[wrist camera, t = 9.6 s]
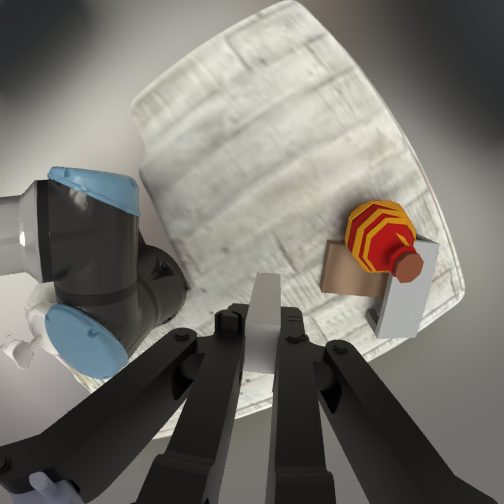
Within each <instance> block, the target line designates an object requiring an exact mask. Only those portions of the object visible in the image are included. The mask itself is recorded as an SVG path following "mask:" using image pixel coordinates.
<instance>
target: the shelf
mask: <svg viewBox="0 0 504 504" xmlns="http://www.w3.org/2000/svg"><path fill="white" fill-rule="evenodd" d="M414 248H415V250H416V251H417V253H418V254H420V256H421V258H422V259H423V261H424V264H423V267H422V271H421V274H420V275H419V276H418V277H416V278H415V279H414V280H413V281H412V282H410V283H400V282H399V281H398V279H397V278H396V277H394V276H393V275H392V273H391V272H389V277H388V282H387V286H386V291H385V295H384V300H383V304H382V308H381V312H380V316H378V315H377V313H376V312H375V310H367V312H366V316H365V318H366V319H367V321H368V323H369V325H370V326H371V328H372V330H373V332H374V333H375V335H376V337H377V339H381V338H411V337H416V334H417V331H418V328H419V325H420V322H421V319H422V316H423V312H424V309H425V306H426V302H427V298H428V295H429V291H430V287H431V283H432V278H433V274H434V270H435V265H436V260H437V255H438V250H439V244H438V243H436V242H434V241H432V240H429V239H427V238H425V237H423V236H421V235H418V234H416V239H415V242H414Z"/></svg>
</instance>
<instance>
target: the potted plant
mask: <svg viewBox="0 0 504 504" xmlns="http://www.w3.org/2000/svg"><path fill="white" fill-rule="evenodd" d="M53 304H56V303H49V302H47V301H44V302H42V303H40V304H38V305H36V306H35V307H33V308H32V309H30V310H29V313H28V317H27V319H28V323H29V328H30V330H31V332H32V334H33V336H34V339H33V340H32V341H31V343H30V344H29V343H27V342H24V341H21V340H15V339H14V340H13V341H12V342H11V343H10V344H9V346H8V347H6V348H5V349H3V350H2V351H3V352H4V353H6V354H7V356H9V357H10V358H11V359H13V360H14V361H15V363H16V365H17V367H18V368H20V369H22V370H26V369H28V368H29V366H30V363H31V360H32V359H33V355H34V353H33V351H32V349H34V348H35V347H36V346H37V344H39V345H40V346H41V347H42V348H43V349H44V350H45V351H47V352H49V353H50V354H52V355H55V354H59V353H58V352H57V351H56V349H55V348H54V346H53V345H52V343H51V341H50V339H49V337H48V335H47V332H46V328H45V315H46V314H47V311H48V310H49V308H50V306H52V305H53ZM0 347H3V345H2V346H0Z"/></svg>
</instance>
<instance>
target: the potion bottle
mask: <svg viewBox="0 0 504 504" xmlns="http://www.w3.org/2000/svg"><path fill="white" fill-rule="evenodd" d="M415 239H416V230H415V228H414V226H413V224H412V222H411V221H410V219H409V217H408V216H407V214H406V213H405V211H404V210H403V208H402V207H401V206H400V204H398V203H395V202H393V201H368V202H367V203H365V204H364V205H359V206H358V207H357V208H356V209H355V210H353V211H352V212H351V213H350V216H349V218H348V224H347V229H346V234H345V239H344V240H345V244H346V246H347V248H348V249H349V250H350V251H351V253H352V256H353V257H354V258H355V259H356V261H357V262H358V264H359V265H360V266H361V267H362V268H363V269H364V271H365V272H369V273H372V272H391V273H392V275H393V276H394V277H396V278H397V279H398V281H399V282H400V283H410V282H412V281H413V280H414V279H415V278H416V277H418V276H419V275H420V274H421V271H422V267H423V264H424V261H423V259H422V258H421V256H420V254H418V253H417V251H416V250H415V248H414V242H415Z"/></svg>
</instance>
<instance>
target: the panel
mask: <svg viewBox="0 0 504 504" xmlns="http://www.w3.org/2000/svg"><path fill="white" fill-rule="evenodd" d="M388 277H389V272H372V273H369V272H365V271H364V269H363V268H362V267H361V266H360V265H359V264H358V262H357V261H356V259H355V258H354V257H353V256H352V253H351V251H350V250H349V249H348V248H347V246H346V244H345V242H338V241H330V240H327V246H326V252H325V258H324V264H323V270H322V276H321V281H320V289H321V292H324V293H335V294H346V295H357V296H369V297H382V298H384V295H385V291H386V286H387V282H388Z"/></svg>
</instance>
